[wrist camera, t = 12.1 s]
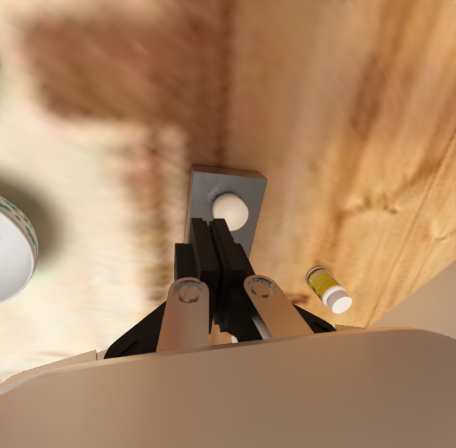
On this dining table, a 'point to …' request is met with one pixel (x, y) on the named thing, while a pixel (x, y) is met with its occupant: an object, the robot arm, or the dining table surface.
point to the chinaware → (15, 250)
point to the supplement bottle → (328, 289)
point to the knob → (230, 210)
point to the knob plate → (221, 184)
